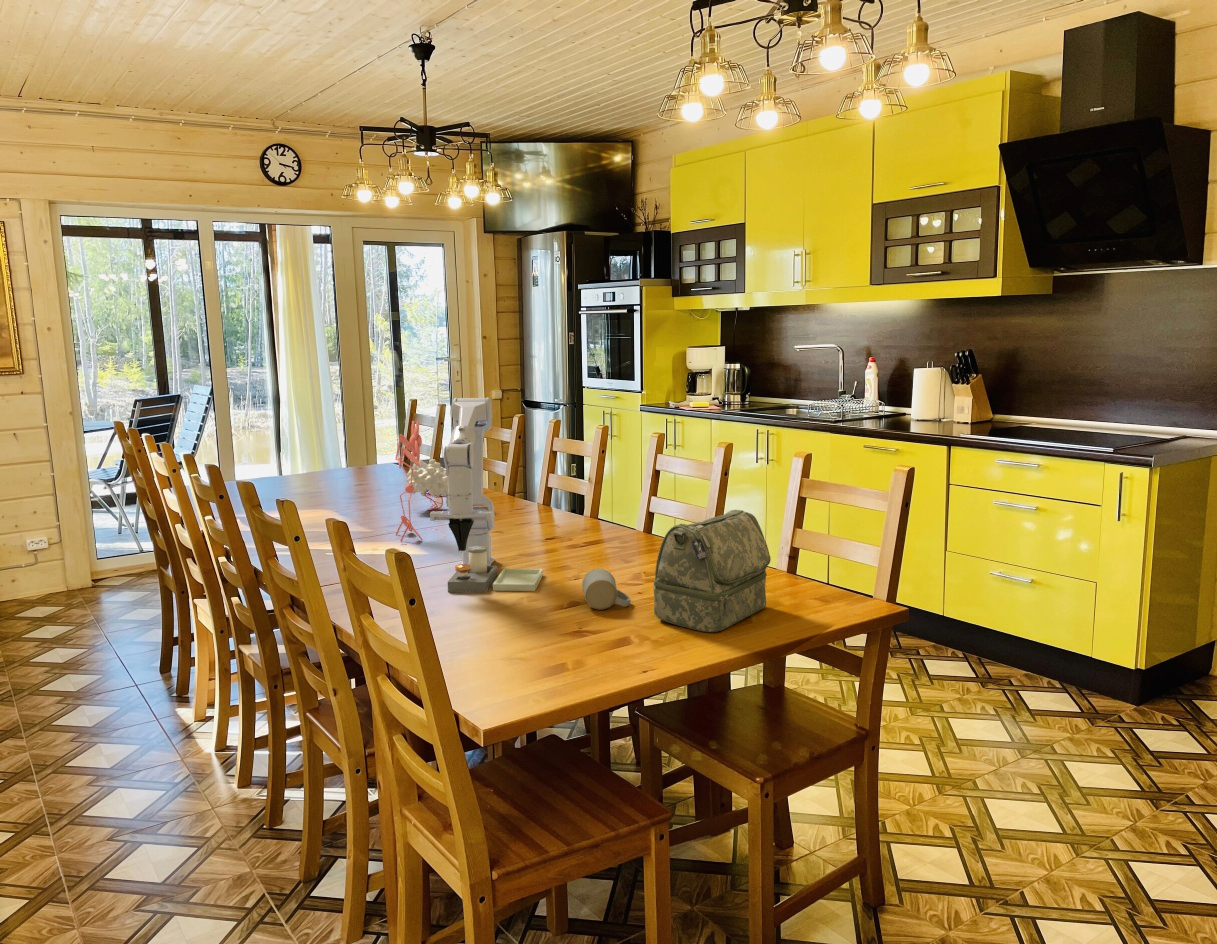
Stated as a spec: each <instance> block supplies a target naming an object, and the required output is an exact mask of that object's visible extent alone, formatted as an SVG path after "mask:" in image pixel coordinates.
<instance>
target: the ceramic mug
mask: <svg viewBox="0 0 1217 944" xmlns="http://www.w3.org/2000/svg"><path fill="white" fill-rule="evenodd" d="M581 585H582V586H581V587H582V588H581V589H582V591H583V596H584V600H585V602H586V603H587V604H588V605H589V607H591V608H592V609H594V610H600V611H601V610H607V609H609V608H611V607H612V606H613V605H614V604H615V605H617V606H620V607H624V608H625V607H629V605H630V604H631V601H632V600H631V597H629V595H627V594H626V593H625V592H623V591H621V590H619V589H617V581H616V579H615V577H614V575H613V574H612V573H611V571H608V570H606V569H603V568H594V569H591V570H590V571H588V572H587V573H586V574H585V575H584V577H583V578H582V584H581Z"/></svg>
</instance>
